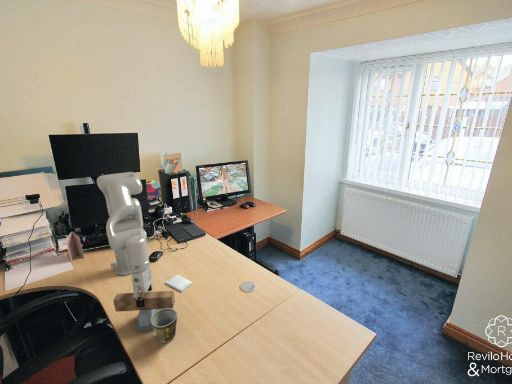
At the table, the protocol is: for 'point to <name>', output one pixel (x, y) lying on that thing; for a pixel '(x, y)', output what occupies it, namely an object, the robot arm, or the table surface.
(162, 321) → the ceramic cup
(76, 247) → the greeting card
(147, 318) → the ridge block
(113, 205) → the robot arm
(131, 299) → the walnut batten
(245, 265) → the table surface
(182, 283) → the hard drive
